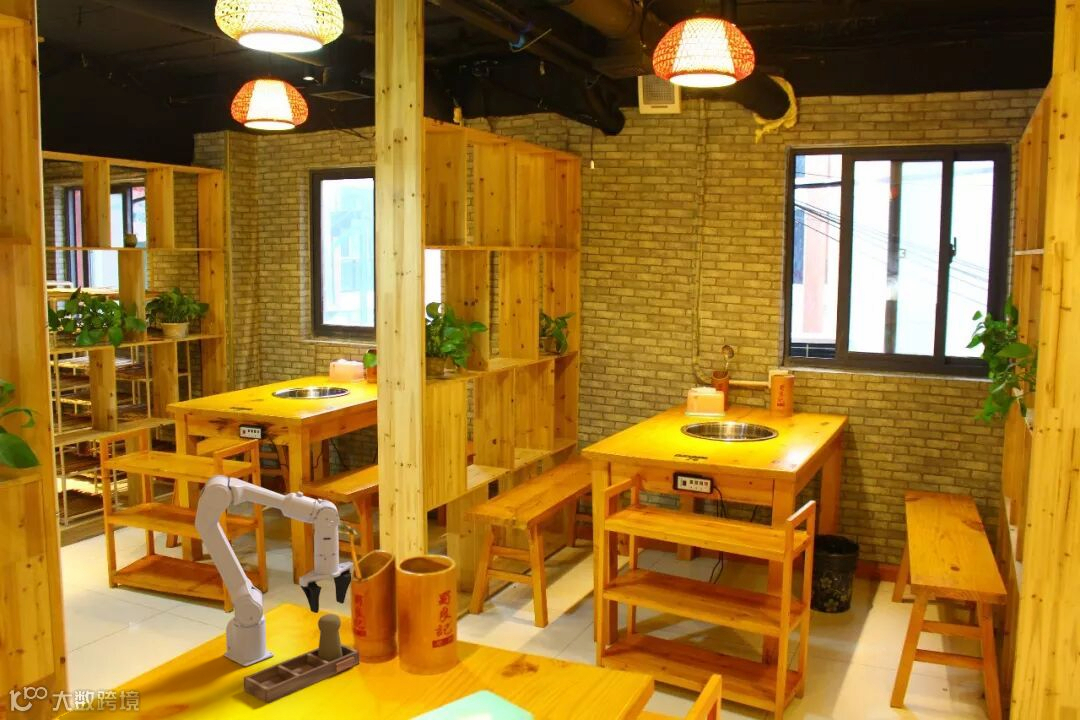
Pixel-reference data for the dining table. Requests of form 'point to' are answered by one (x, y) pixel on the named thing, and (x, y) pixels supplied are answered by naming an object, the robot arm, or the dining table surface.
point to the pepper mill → (329, 638)
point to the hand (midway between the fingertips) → (327, 606)
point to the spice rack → (297, 674)
